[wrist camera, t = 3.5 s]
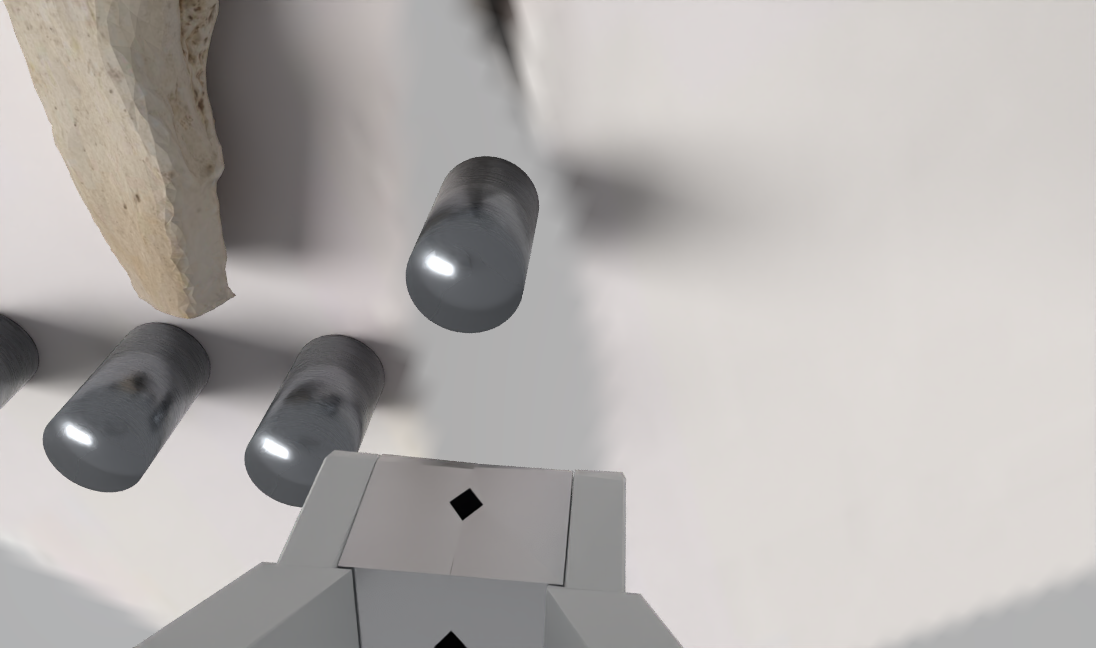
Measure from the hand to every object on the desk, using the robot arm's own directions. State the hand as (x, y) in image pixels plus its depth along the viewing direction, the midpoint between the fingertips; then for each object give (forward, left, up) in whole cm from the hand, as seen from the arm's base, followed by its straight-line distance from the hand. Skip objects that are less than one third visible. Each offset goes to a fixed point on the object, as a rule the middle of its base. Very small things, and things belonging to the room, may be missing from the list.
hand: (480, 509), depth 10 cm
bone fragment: (-11, 0, -19) cm, 22 cm away
